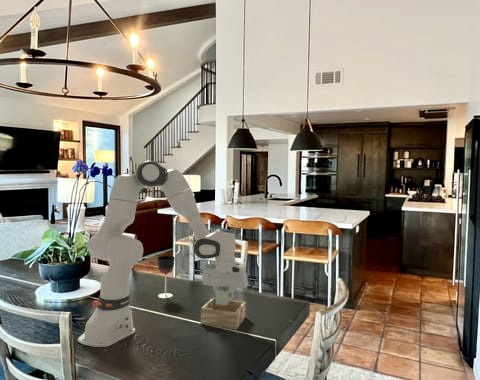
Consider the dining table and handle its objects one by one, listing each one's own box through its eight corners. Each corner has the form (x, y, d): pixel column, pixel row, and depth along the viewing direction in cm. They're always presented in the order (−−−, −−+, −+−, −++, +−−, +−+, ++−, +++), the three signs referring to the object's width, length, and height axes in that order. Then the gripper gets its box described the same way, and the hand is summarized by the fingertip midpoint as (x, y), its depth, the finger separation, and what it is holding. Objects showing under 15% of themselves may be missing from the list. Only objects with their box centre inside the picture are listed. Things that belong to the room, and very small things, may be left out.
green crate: (226, 305, 160) (226, 291, 159) (215, 303, 161) (215, 290, 161) (232, 298, 168) (233, 285, 168) (222, 296, 170) (222, 284, 169)
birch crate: (236, 329, 156) (236, 313, 155) (200, 324, 160) (201, 308, 160) (245, 317, 169) (245, 301, 169) (212, 312, 173) (212, 297, 173)
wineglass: (172, 298, 191) (172, 259, 190) (155, 297, 191) (155, 259, 190) (175, 293, 199) (175, 256, 197) (159, 292, 199) (159, 255, 198)
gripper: (200, 265, 163) (199, 296, 164) (245, 269, 158) (244, 301, 159) (205, 261, 169) (205, 291, 170) (249, 265, 164) (248, 296, 165)
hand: (224, 296), depth 164 cm, fingers closed on green crate, 5 cm apart
